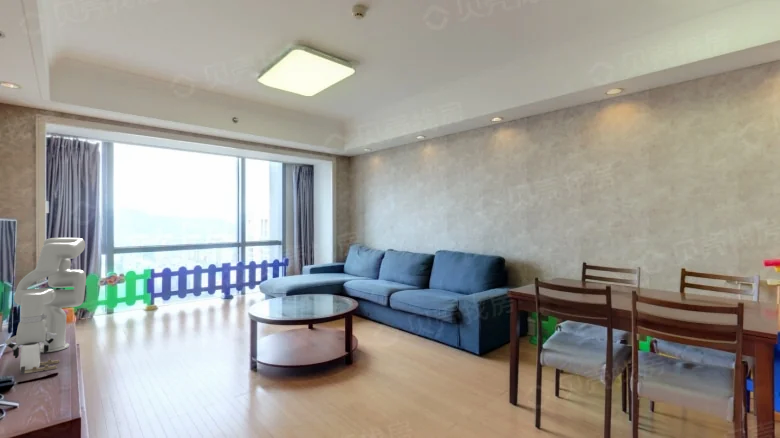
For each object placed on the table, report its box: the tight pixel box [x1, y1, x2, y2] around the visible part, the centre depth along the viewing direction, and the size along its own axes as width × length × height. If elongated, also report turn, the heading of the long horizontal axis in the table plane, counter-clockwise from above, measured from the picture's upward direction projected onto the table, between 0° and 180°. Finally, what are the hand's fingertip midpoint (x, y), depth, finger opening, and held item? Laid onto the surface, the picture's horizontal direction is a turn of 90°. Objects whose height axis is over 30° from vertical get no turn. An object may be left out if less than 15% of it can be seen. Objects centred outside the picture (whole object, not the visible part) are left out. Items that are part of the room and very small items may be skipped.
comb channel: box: [20, 358, 60, 375], centre depth 172 cm, size 9×12×3 cm
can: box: [19, 343, 41, 371], centre depth 170 cm, size 6×6×12 cm
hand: (31, 355), depth 170 cm, fingers open, 9 cm apart
